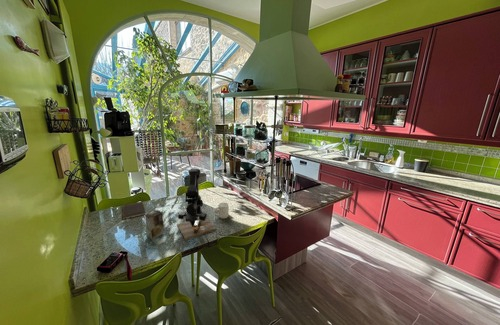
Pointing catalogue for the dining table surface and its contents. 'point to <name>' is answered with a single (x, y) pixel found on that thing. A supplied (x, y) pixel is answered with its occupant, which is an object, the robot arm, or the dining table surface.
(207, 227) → the lock base
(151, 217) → the coffee box
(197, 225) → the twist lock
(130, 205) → the hardcover book
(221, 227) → the dining table surface
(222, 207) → the mug
